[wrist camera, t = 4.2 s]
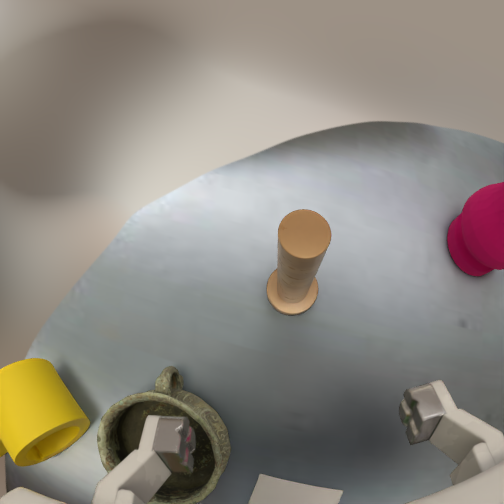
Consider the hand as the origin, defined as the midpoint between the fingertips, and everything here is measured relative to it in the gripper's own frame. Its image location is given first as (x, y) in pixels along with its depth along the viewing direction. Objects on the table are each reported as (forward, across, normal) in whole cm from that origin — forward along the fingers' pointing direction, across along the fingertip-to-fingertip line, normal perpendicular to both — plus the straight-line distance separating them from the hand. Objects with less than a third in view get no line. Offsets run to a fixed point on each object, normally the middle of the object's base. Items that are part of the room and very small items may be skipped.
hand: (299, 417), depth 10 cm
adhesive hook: (0, +1, +19) cm, 19 cm away
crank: (+5, +26, +9) cm, 28 cm away
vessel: (+7, +9, +12) cm, 16 cm away
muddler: (+15, -1, +4) cm, 15 cm away
